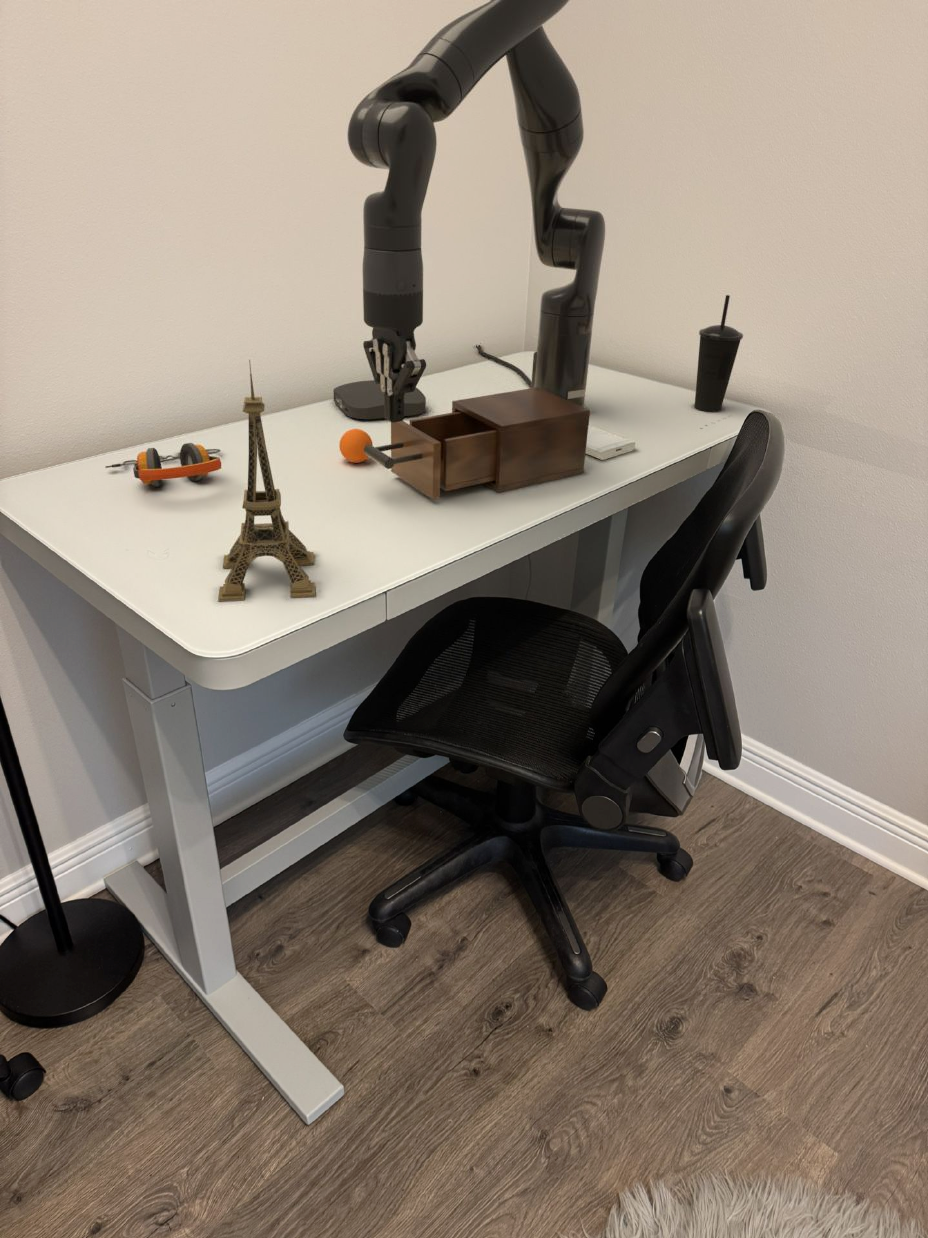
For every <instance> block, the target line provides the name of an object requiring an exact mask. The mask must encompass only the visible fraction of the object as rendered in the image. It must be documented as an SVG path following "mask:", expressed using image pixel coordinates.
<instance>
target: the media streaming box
mask: <svg viewBox="0 0 928 1238" xmlns="http://www.w3.org/2000/svg"><path fill="white" fill-rule="evenodd" d="M426 401H427V398H426V396H425V394H424V393H423V392H422V391H421V389H419V388H418V387H416V388H415V389H414V391H413V392H409V393H405V395H404V417H407V416H416V415H420V414H423V413H425V411H426V410H427V408H426V407H427V406H426V404H427V403H426ZM333 403H335V405H336V406H337V407H338V408H339V409H340V410H341V412H343V413H344V414H345V415H346V416H347V417H350V418H353V419H357V420H377V419H385V413H384V392H382V390H381V384H376V383H375V380H374V379H373V380H372V379H371V380H370V379H369V380H361V381H360V380H359V381H353V382H348V383H344V384H341V385H338V386H336V387H334V388H333Z"/></svg>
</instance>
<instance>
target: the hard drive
mask: <svg viewBox="0 0 928 1238" xmlns="http://www.w3.org/2000/svg"><path fill="white" fill-rule="evenodd" d="M635 449H636V442H635V441H632V440H630V439H628V438H626V437H625V438H624V437H621V436H619V435H617V434H614V433H611V432H608V431H606V430H603V429H601V428H597V427H595V426H592V425H590V424H589V425H588V435H587V444H586V453H585V455H589V456H592V457H594V458H597V459H599V460H601V461H604V460H608V459H611V458H614V457H618V456H621V455H623V454H628V453H631V452H633V451H634V450H635Z"/></svg>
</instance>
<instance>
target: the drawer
mask: <svg viewBox="0 0 928 1238" xmlns="http://www.w3.org/2000/svg"><path fill="white" fill-rule="evenodd" d="M497 449H498V430H496V429H494V428H493V427H491V426H489V425H487V424H485V423H483V422H481V421H479V420H477V419H475V418H473V417H471V416H469V415H467V414H465V413H463V412H461V411H459V412H453V413H452V412H447V413H442V414H437V415H431V416H425V417H419V418H412V419H409V423H408V422H406V421H404V420H402V421H399V422H394V423H392V422H390V444H386V445H379V446H374V445H373V446H372V445H367V446H365V448H364V453H365V454H366V455H367V456H369V457H368V458H370V459H372V460H373V461H375V462H376V463H378V464H379V465H381V466H382V467H384V468H385V469H387V470H390V471H391V473H392V474H394V475H396V476H397V477H398V478H400V479H402V481H405V482H406V483H407V484H409V485H411V486H412V487H413V488H415V489H416V490H418V491H420V492H421V493H423V494H424V495H426V496H427V497H428V498H430V499H432V500H436V499H440V498H441V490H443V491H445V492H448V491H452V490H453V491H454V490H458V489H462V488H466V487H471V486H475V485H480V484H483V483H485V482H490V481H494V480H496V466H497ZM386 451H390V456H389V455H387V454H385V452H386Z"/></svg>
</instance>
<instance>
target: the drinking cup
mask: <svg viewBox="0 0 928 1238" xmlns="http://www.w3.org/2000/svg"><path fill="white" fill-rule="evenodd" d="M730 298H731V295H729V294H726V295H725V298H724V304H723V310H722V315H721V321H720V324H714V325H710V326H708V327H705V328H701V329H699V332H698V335H699V345H698V346H699V347H698V360H697V370H696V381H695V383H696V385H695V396H694V408H695V409H697V410H699V411H702V412H707V413H708V412H709V413H714V412H720V411H721V410H722V407H723V404H724V399H725V397H726V393H727V389H728V386H729V382H730V379H731V376H732V372H733V369H734V364H735V361H736V358H737V354H738V350H739V347H740V344H741V341H742V339H743V337H744V334H743V333H742V332H741V331H738V329H736V328H734V327H732V326H729V325H726V320H727V315H728V308H729V303H730Z"/></svg>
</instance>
